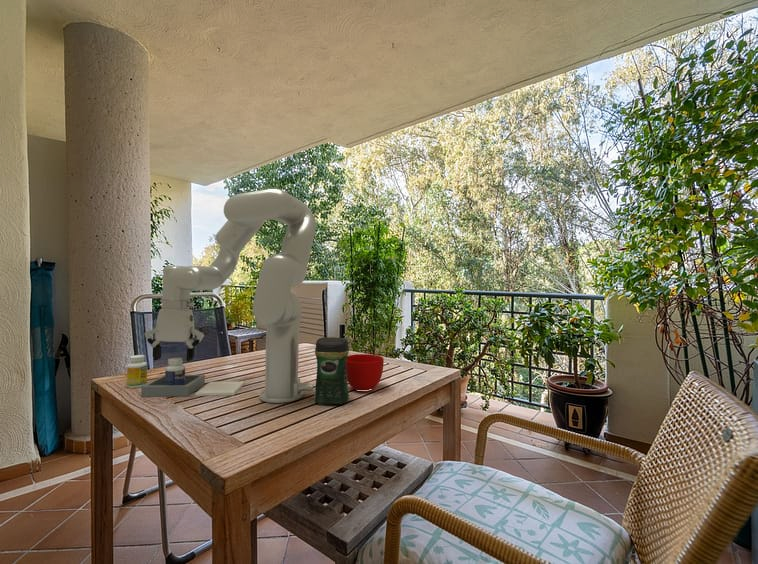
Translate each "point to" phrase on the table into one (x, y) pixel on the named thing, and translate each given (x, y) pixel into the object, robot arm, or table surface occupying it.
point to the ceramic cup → (364, 370)
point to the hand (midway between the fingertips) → (173, 359)
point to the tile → (220, 388)
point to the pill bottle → (175, 372)
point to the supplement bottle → (136, 372)
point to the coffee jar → (331, 371)
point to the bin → (173, 387)
